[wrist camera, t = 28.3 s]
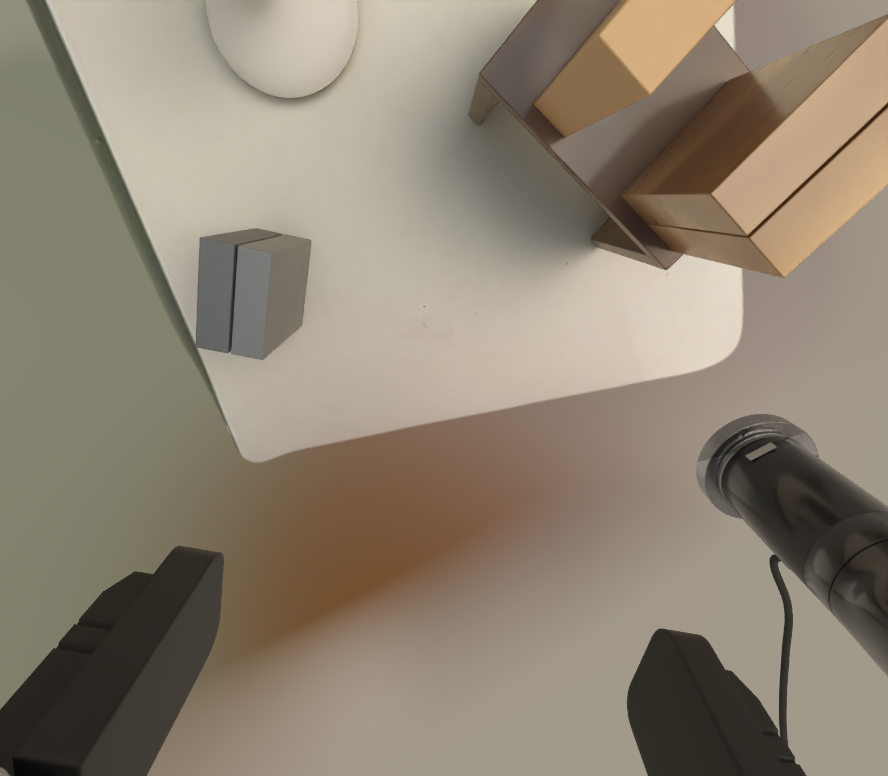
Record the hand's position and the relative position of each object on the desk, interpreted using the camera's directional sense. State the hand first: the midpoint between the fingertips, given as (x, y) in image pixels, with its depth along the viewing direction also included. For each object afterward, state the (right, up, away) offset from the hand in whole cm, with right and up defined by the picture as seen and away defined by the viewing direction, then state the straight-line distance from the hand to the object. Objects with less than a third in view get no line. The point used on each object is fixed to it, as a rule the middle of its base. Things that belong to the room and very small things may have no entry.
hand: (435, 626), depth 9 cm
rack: (+11, +25, +33) cm, 43 cm away
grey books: (-15, +14, +38) cm, 43 cm away
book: (+9, +22, +18) cm, 30 cm away
